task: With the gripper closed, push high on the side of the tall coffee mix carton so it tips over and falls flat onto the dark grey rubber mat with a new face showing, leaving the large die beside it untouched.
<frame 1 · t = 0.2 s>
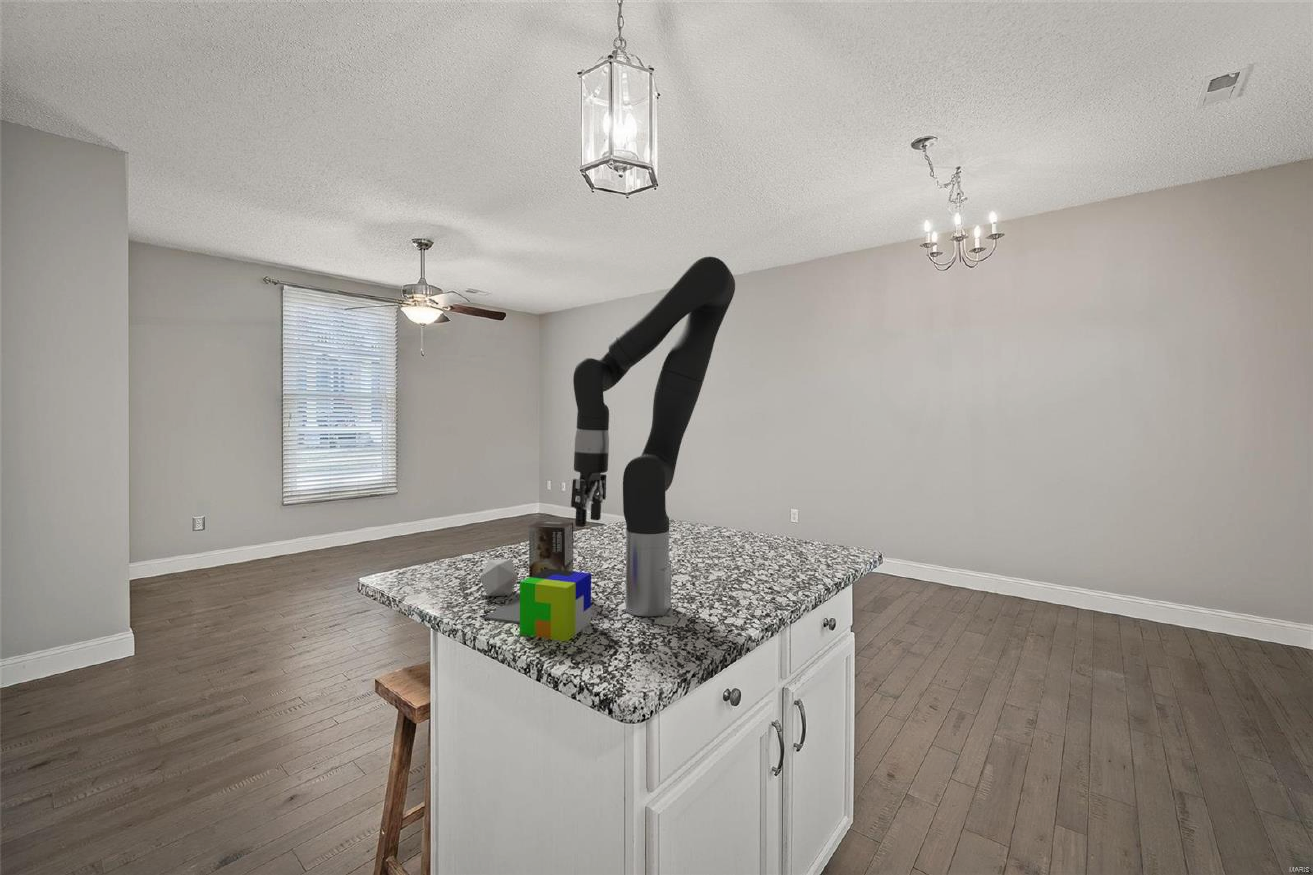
hand: (588, 523, 119), 18 cm above the countertop, tool pointing down, fingers open, 8 cm apart
coffee box: (551, 592, 127), on the countertop
die: (499, 594, 125), on the countertop
puzzle toy: (556, 629, 105), on the countertop
mat: (524, 608, 116), on the countertop
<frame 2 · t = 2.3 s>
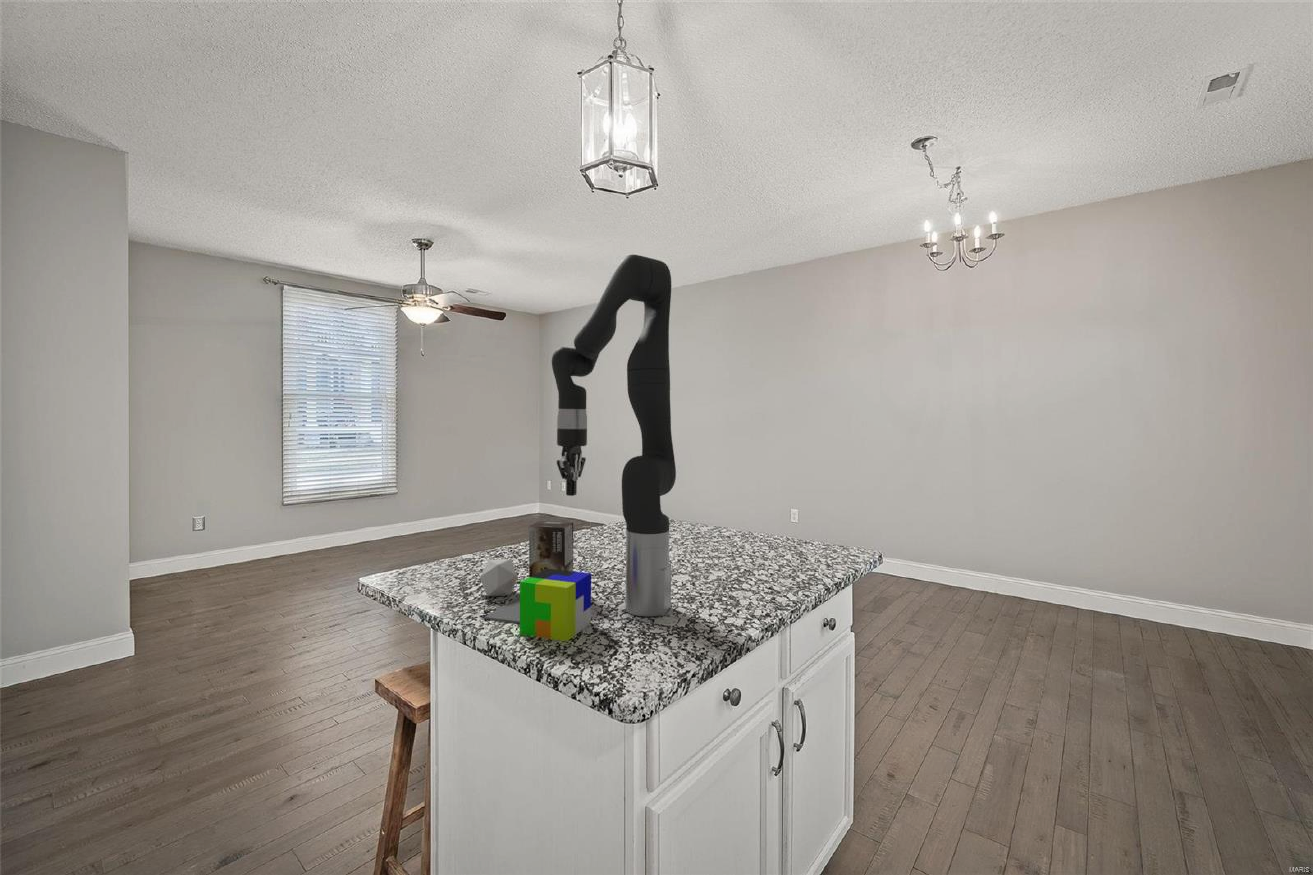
hand: (571, 495, 137), 21 cm above the countertop, tool pointing down, fingers closed
nothing on the countertop moved.
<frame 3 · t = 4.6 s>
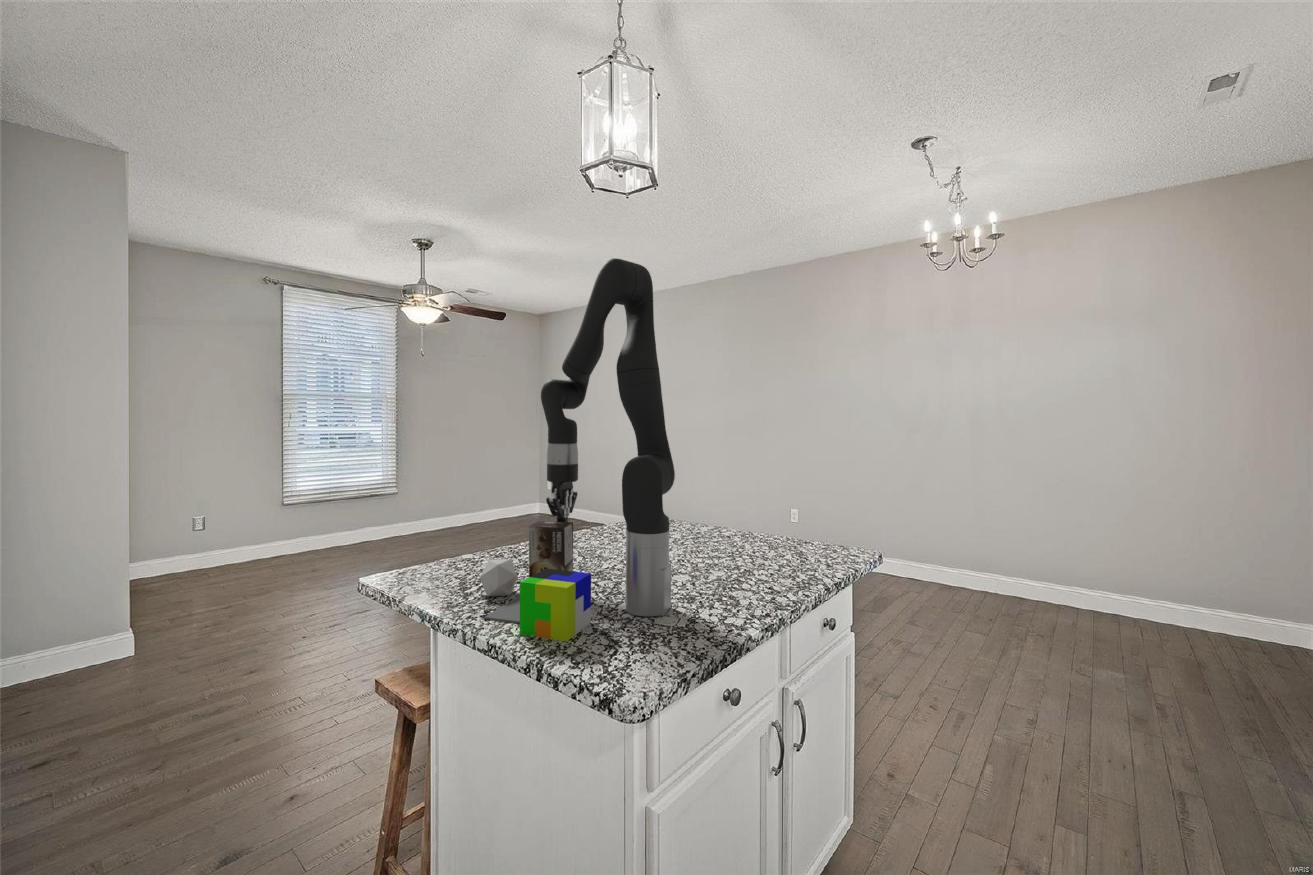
hand: (562, 532, 132), 13 cm above the countertop, tool pointing down, fingers closed
coffee box: (551, 592, 127), on the countertop, touching gripper
everything else where it was.
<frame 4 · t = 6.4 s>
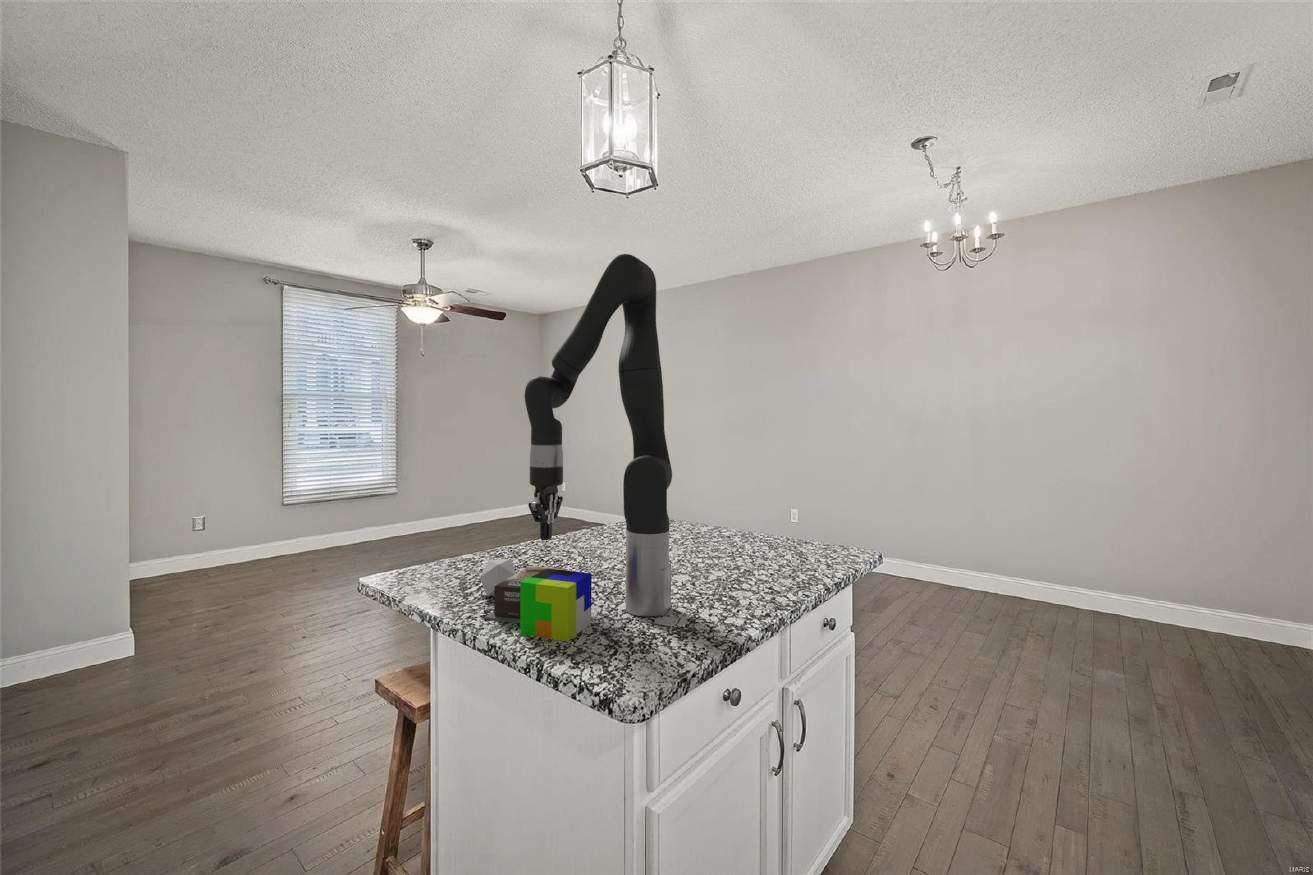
hand: (546, 539, 124), 13 cm above the countertop, tool pointing down, fingers closed
coffee box: (547, 579, 124), point 4 cm above the countertop, touching mat
everything else where it was.
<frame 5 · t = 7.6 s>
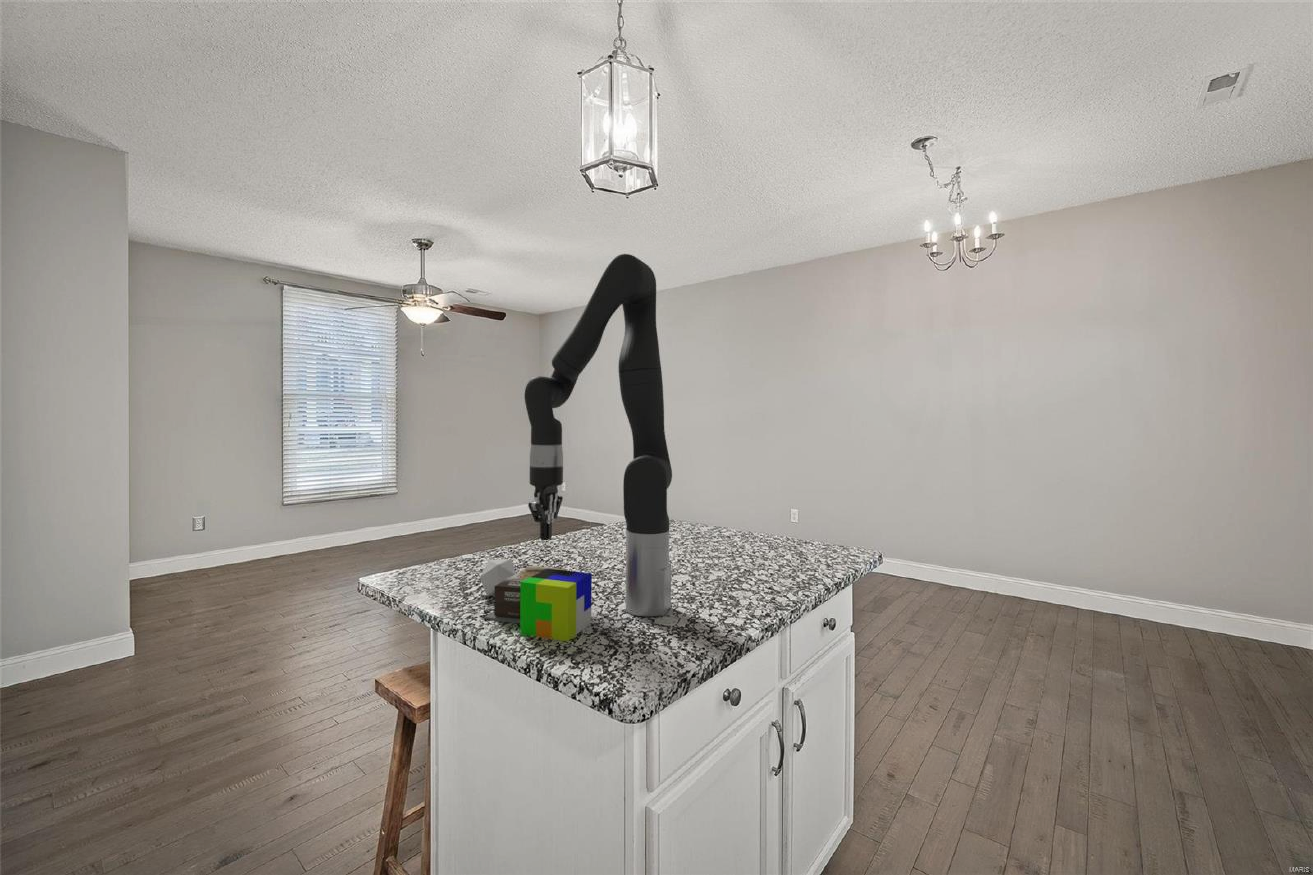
hand: (546, 539, 124), 13 cm above the countertop, tool pointing down, fingers closed
nothing on the countertop moved.
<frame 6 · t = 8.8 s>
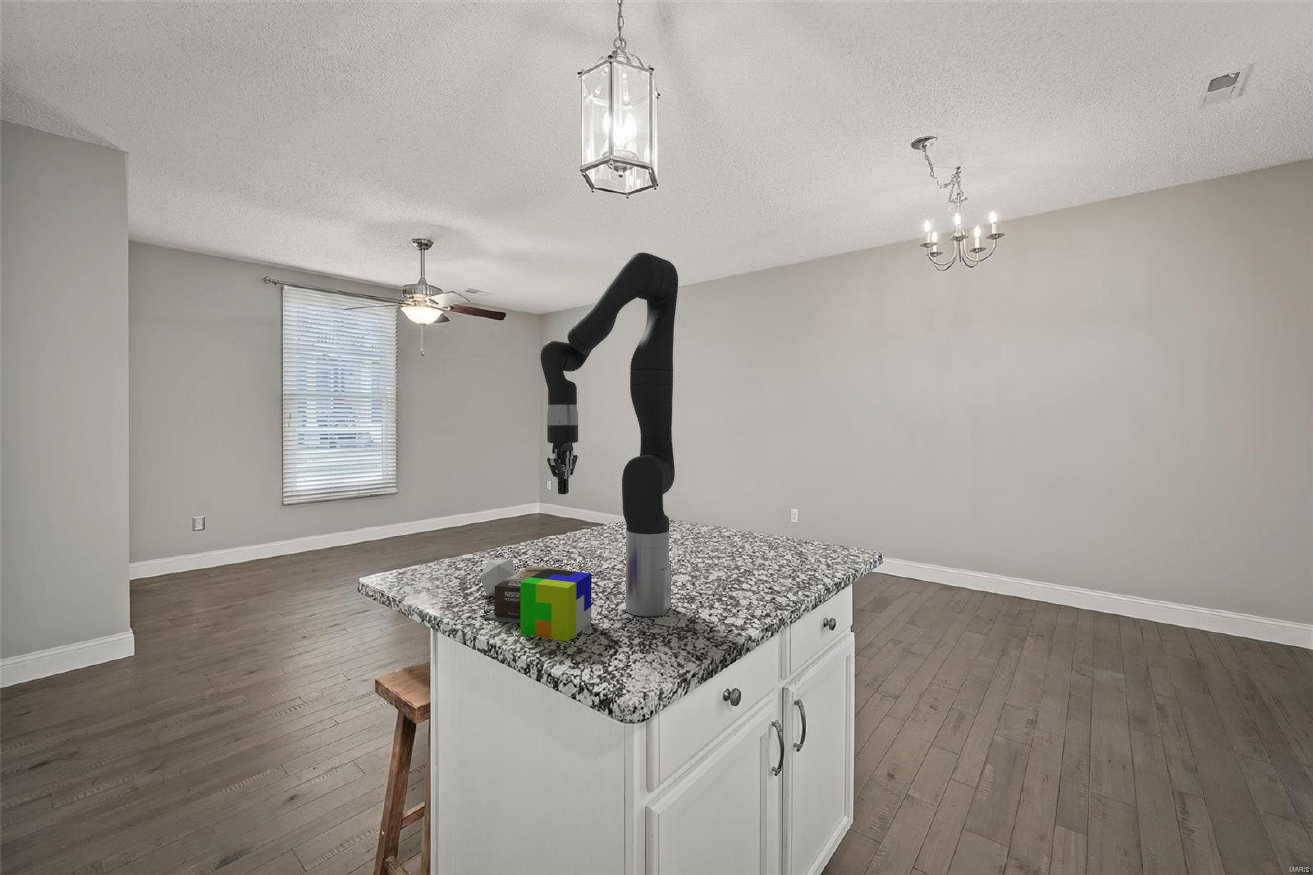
hand: (563, 493, 133), 22 cm above the countertop, tool pointing down, fingers closed
nothing on the countertop moved.
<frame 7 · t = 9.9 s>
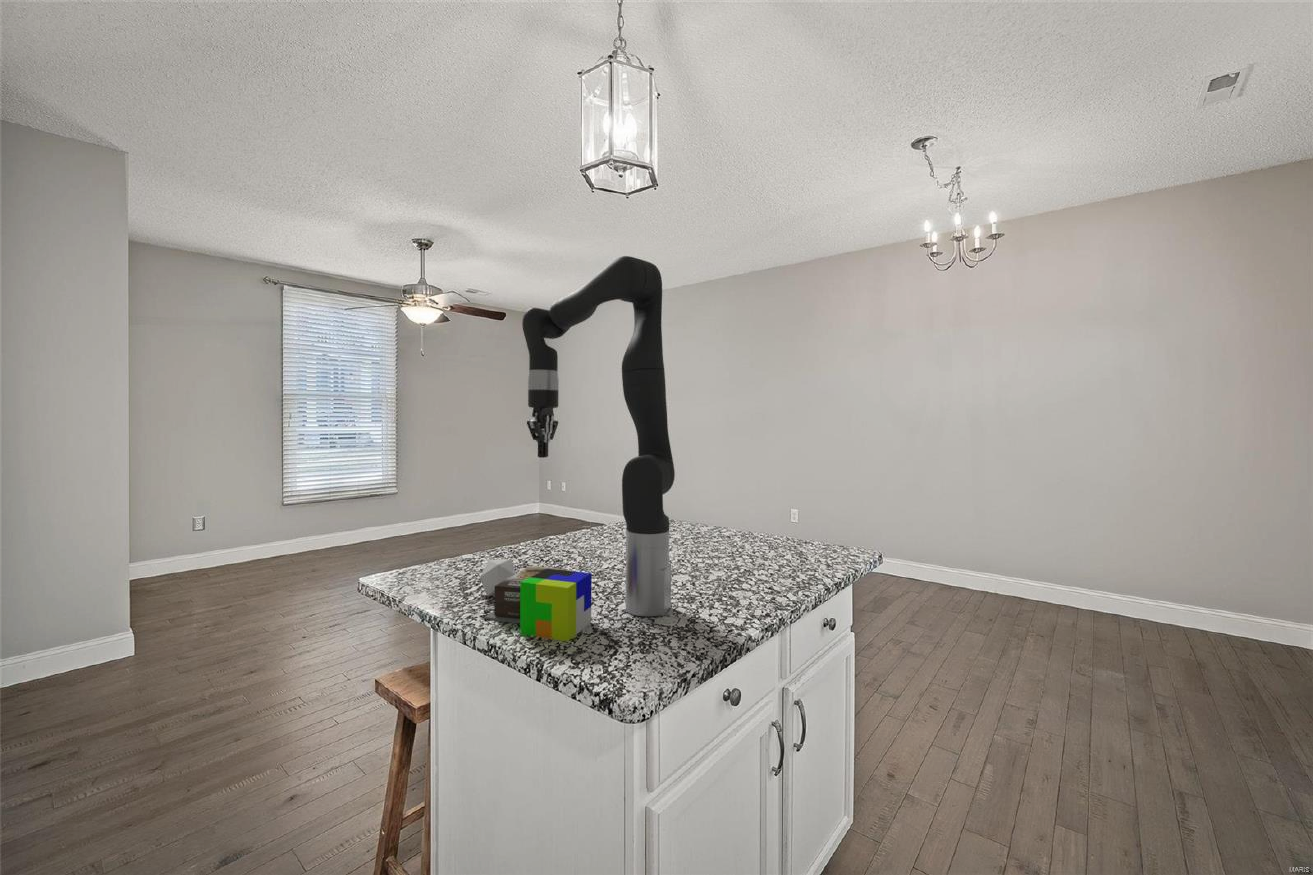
hand: (543, 457, 137), 31 cm above the countertop, tool pointing down, fingers closed
nothing on the countertop moved.
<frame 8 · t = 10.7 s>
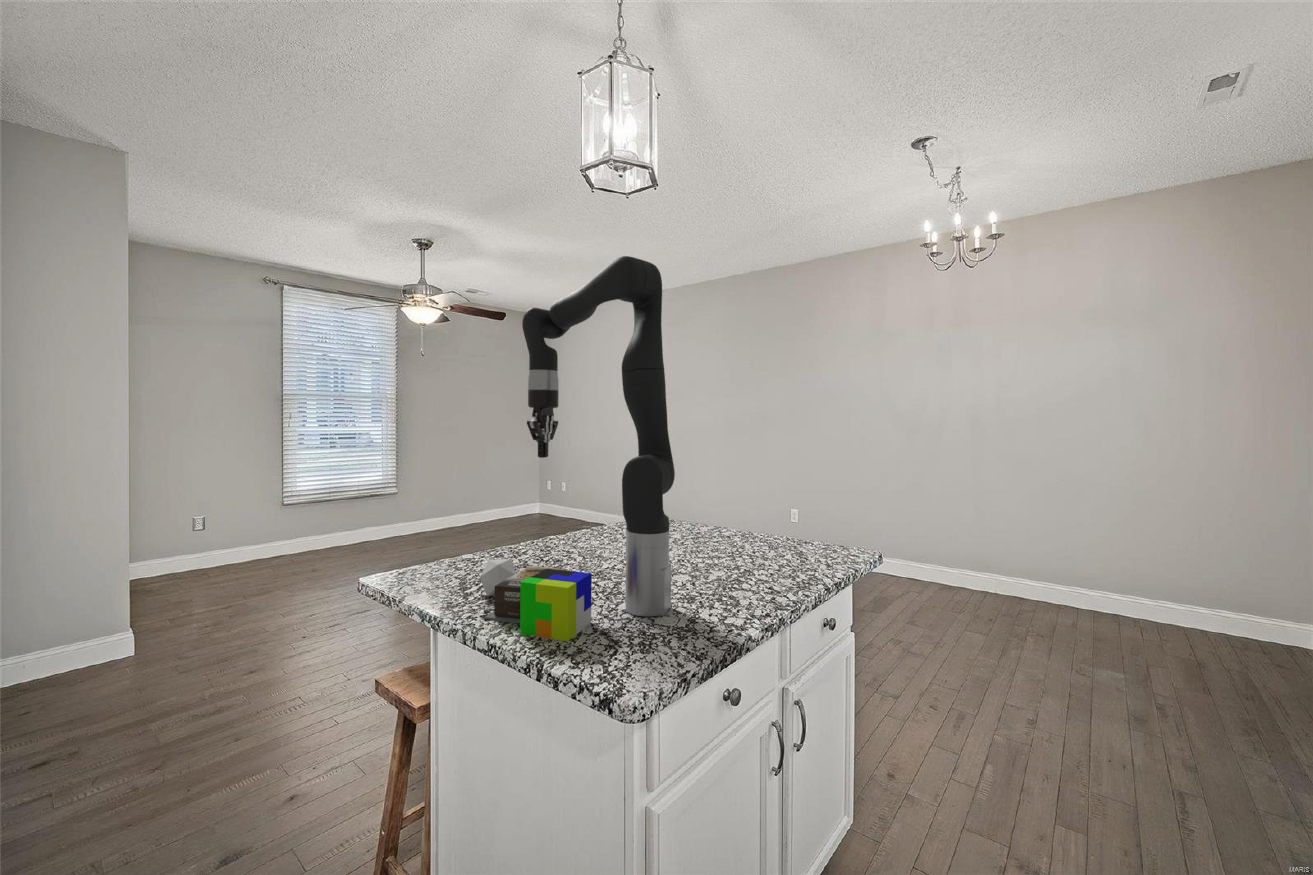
hand: (543, 457, 137), 31 cm above the countertop, tool pointing down, fingers closed
nothing on the countertop moved.
at the end: coffee box tilted 90°; coffee box inside the target area (6.7 cm from its centre), point 3.6 cm above the countertop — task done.
